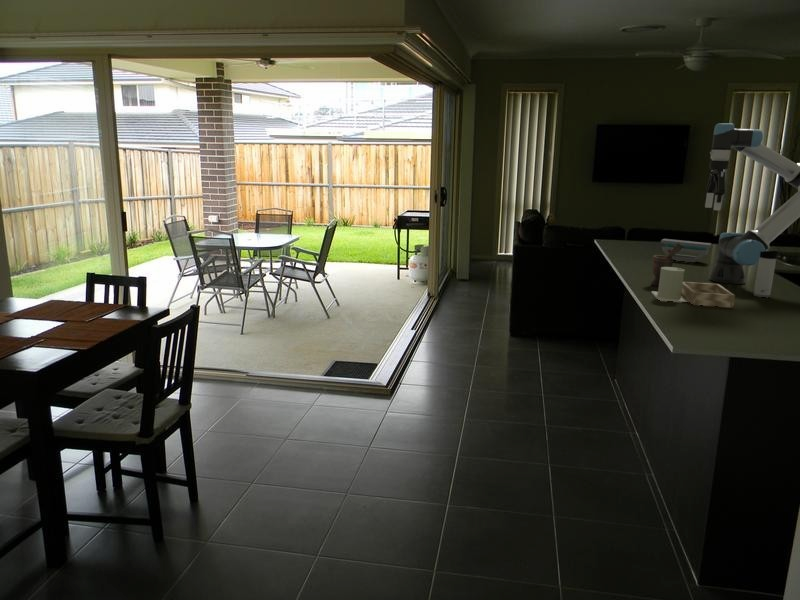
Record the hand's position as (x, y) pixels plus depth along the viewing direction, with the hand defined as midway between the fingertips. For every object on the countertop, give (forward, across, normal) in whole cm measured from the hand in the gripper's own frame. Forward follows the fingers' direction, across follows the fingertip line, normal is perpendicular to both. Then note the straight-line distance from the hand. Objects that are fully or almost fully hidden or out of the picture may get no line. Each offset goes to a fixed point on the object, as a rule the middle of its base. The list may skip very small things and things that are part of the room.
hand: (712, 208), depth 289 cm
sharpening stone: (+35, -71, +8) cm, 80 cm away
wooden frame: (+35, +33, -7) cm, 48 cm away
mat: (+35, +33, -21) cm, 52 cm away
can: (+34, +33, -21) cm, 52 cm away
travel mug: (+35, +17, +20) cm, 44 cm away
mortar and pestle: (+35, +7, -18) cm, 40 cm away
